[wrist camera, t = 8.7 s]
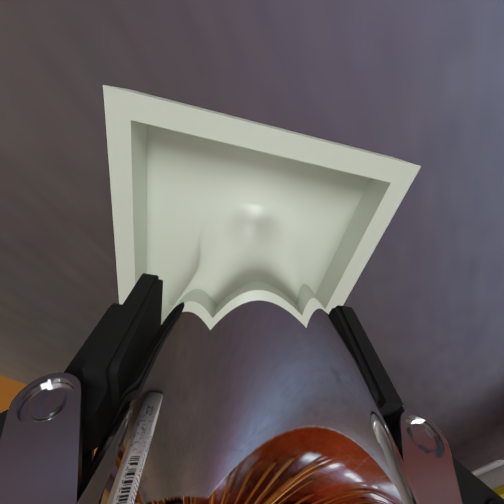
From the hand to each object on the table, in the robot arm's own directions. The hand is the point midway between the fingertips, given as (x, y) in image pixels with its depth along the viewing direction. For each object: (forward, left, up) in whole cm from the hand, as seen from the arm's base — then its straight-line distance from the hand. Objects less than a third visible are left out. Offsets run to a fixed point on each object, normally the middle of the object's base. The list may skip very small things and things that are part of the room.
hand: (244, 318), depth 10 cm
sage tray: (0, 0, -7) cm, 7 cm away
